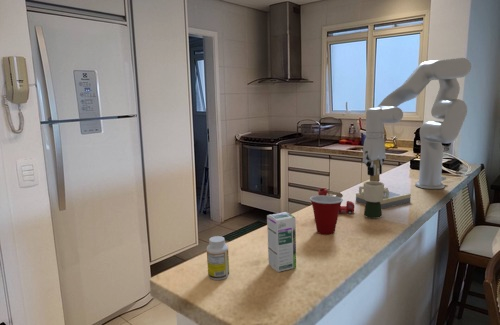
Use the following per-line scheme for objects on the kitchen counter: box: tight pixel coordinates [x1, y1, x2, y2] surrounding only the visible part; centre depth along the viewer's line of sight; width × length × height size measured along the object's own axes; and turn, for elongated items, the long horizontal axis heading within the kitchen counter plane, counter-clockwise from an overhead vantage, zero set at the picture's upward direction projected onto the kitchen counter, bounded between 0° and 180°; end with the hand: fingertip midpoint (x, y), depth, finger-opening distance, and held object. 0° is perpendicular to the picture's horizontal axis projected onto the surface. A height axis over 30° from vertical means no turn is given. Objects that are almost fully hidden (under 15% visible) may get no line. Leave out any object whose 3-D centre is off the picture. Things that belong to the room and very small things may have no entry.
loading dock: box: [355, 187, 412, 210], centre depth 151 cm, size 18×13×4 cm
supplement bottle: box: [206, 235, 230, 281], centre depth 92 cm, size 6×6×10 cm
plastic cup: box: [309, 195, 344, 236], centre depth 119 cm, size 11×11×12 cm
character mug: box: [358, 180, 390, 219], centre depth 132 cm, size 11×7×13 cm, turn 53°
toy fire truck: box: [318, 187, 355, 215], centre depth 138 cm, size 3×14×10 cm, turn 84°
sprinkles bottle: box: [369, 156, 381, 182], centre depth 164 cm, size 5×5×13 cm
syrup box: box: [266, 211, 297, 273], centre depth 96 cm, size 6×6×14 cm
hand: (374, 174), depth 165 cm, fingers closed on sprinkles bottle, 4 cm apart
